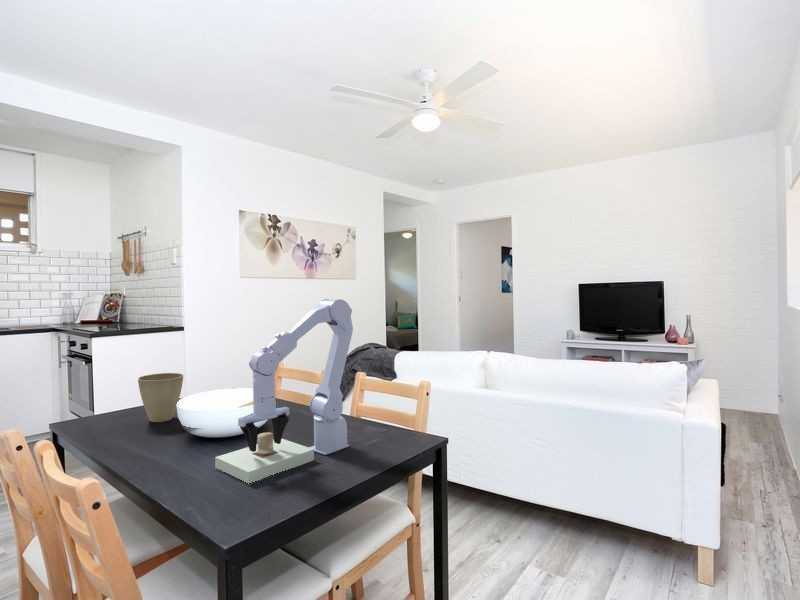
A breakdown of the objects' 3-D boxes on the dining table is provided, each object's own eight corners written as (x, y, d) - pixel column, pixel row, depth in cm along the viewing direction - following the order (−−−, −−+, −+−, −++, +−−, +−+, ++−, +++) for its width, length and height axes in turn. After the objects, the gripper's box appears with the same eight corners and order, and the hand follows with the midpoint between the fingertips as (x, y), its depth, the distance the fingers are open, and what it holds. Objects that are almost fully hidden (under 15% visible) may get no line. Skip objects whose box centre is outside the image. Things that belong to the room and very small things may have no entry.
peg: (267, 460, 125) (267, 431, 125) (276, 463, 123) (276, 434, 122) (254, 464, 122) (254, 435, 122) (263, 468, 119) (263, 438, 119)
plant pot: (144, 428, 156) (143, 382, 156) (134, 419, 167) (133, 376, 167) (190, 419, 166) (189, 376, 166) (177, 411, 177) (176, 371, 177)
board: (279, 447, 135) (279, 437, 135) (314, 460, 125) (313, 449, 125) (215, 468, 120) (215, 457, 120) (248, 484, 110) (248, 472, 109)
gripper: (248, 404, 114) (249, 458, 114) (295, 393, 125) (296, 442, 125) (233, 400, 118) (234, 451, 119) (280, 390, 129) (281, 437, 130)
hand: (265, 446), depth 122 cm, fingers open, 7 cm apart
